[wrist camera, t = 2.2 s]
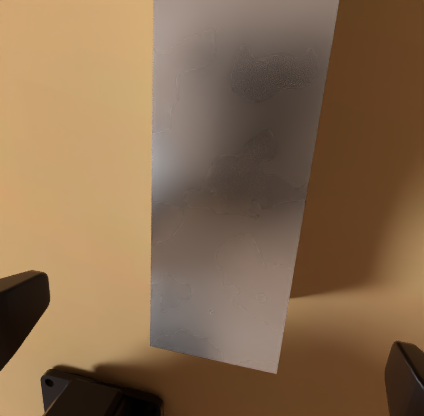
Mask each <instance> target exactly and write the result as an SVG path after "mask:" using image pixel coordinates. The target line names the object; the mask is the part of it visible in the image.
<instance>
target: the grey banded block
mask: <svg viewBox="0 0 424 416" xmlns="http://www.w3.org/2000/svg"><path fill="white" fill-rule="evenodd" d="M338 5H339V0H154V7H153V112H152V217H151V322H150V346H153V347H157V348H162V349H166V350H171V351H175V352H180V353H184V354H189V355H193V356H198V357H202V358H207V359H211V360H216V361H220V362H225V363H229V364H234V365H238V366H243V367H247V368H252V369H256V370H261V371H265V372H270V373H274V374H277V369H278V363H279V357H280V351H281V345H282V339H283V333H284V327H285V321H286V315H287V309H288V303H289V297H290V291H291V285H292V279H293V273H294V267H295V261H296V255H297V250H298V244H299V238H300V232H301V226H302V220H303V214H304V208H305V202H306V196H307V190H308V184H309V178H310V172H311V166H312V160H313V154H314V148H315V142H316V136H317V130H318V124H319V119H320V113H321V107H322V101H323V95H324V89H325V83H326V77H327V71H328V65H329V59H330V53H331V47H332V41H333V35H334V29H335V23H336V17H337V11H338Z"/></svg>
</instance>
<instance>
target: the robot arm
mask: <svg viewBox="0 0 424 416" xmlns="http://www.w3.org/2000/svg"><path fill="white" fill-rule="evenodd" d="M49 302H50V290H49V281H48V276H47V274H46V273H44V272H40V271H34V270H31V271H27V272H23V273H19V274H16V275H12V276H8V277H5V278H1V279H0V371H1V370H2V369H3V368H4V366H5V365H6V364H7V363H8V362H9V360H10V359H11V358H12V357H13V355H14V354H15V353H16V351H17V350H18V349H19V347H20V346H21V345H22V343H23V342H24V340H25V339H26V337H27V336H28V335H29V333H30V332H31V330H32V329H33V327H34V326H35V325H36V323H37V322H38V320H39V319H40V317H41V316H42V315H43V313H44V312H45V310H46V309H47V307H48V305H49ZM385 385H386V392H387V399H388V406H389V413H390V416H424V352H423V351H422V350H421V349H419V348H418V347H417V346H416V345H414V344H411V343H406V342H400V341H396V342H394V343H393V345H392V348H391V351H390V354H389V358H388V361H387V364H386V368H385ZM41 387H42V395H43V403H44V411H45V413H44V414H43V416H164V403H163V401H162V399H161V398H160V397H158V396H156V395H153V394H149V393H145V392H141V391H137V390H133V389H129V388H125V387H121V386H117V385H114V384H110V383H106V382H102V381H98V380H94V379H90V378H86V377H82V376H78V375H74V374H70V373H66V372H62V371H58V370H54V369H49V370H47V371H46V373H45V374H44V375H43V376H42V377H41Z"/></svg>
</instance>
